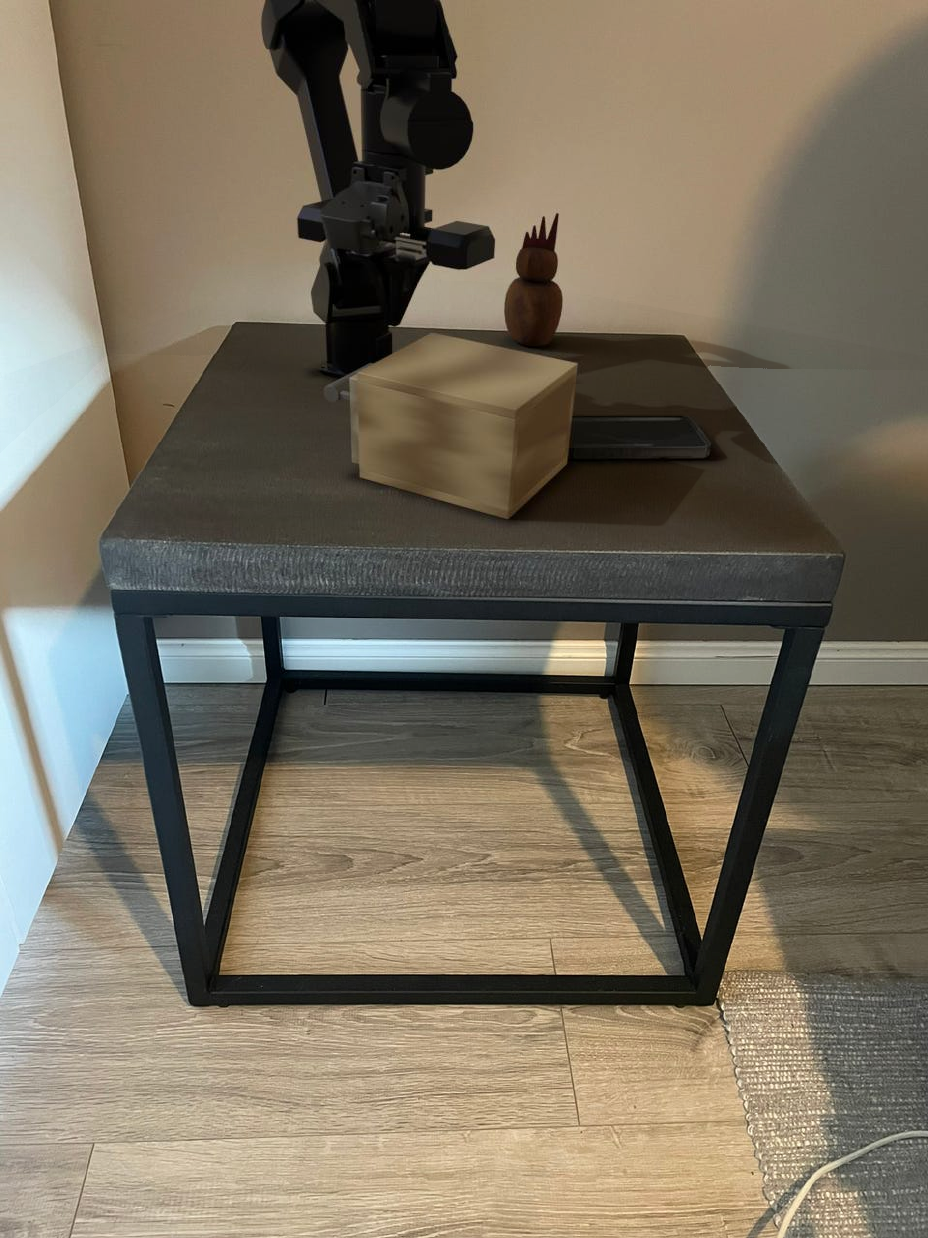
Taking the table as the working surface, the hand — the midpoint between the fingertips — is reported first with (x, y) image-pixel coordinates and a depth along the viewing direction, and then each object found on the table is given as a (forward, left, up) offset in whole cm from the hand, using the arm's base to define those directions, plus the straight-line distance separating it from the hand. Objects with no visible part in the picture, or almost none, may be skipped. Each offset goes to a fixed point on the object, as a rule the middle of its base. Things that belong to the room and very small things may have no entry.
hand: (393, 325), depth 93 cm
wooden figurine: (+3, +27, -9) cm, 28 cm away
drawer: (+9, -9, -7) cm, 15 cm away
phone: (+24, +4, -8) cm, 25 cm away
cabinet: (+13, -9, -8) cm, 18 cm away
